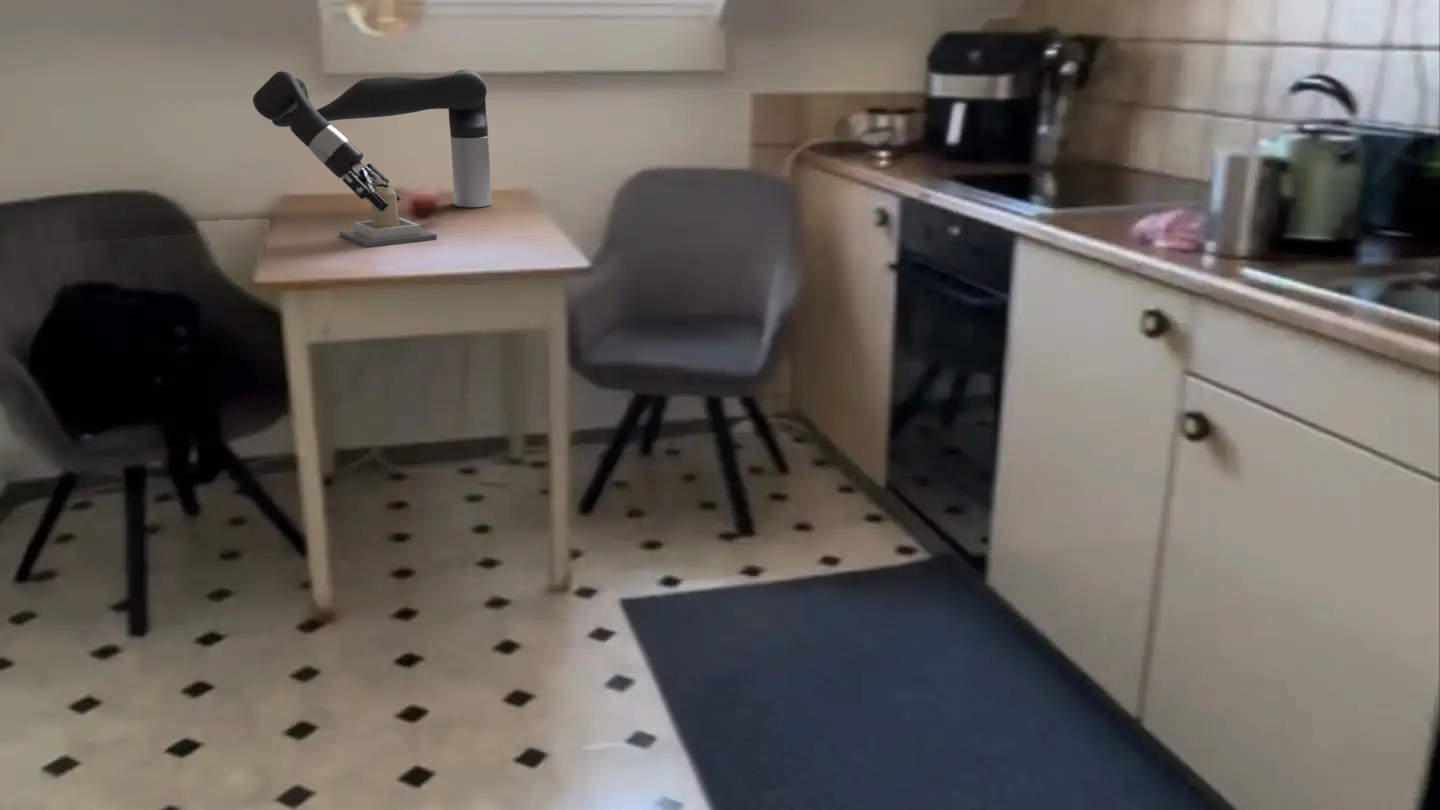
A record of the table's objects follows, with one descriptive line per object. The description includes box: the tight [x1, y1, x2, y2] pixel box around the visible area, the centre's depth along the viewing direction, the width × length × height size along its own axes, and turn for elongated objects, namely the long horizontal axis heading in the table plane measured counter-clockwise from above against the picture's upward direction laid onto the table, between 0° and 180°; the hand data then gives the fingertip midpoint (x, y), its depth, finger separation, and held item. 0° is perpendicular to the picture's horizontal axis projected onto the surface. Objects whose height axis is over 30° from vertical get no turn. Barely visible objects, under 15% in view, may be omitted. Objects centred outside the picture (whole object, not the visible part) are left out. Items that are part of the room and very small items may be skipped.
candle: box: [370, 186, 399, 229], centre depth 274 cm, size 6×6×10 cm
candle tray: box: [339, 217, 438, 248], centre depth 275 cm, size 16×16×3 cm
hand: (391, 205), depth 273 cm, fingers open, 8 cm apart
